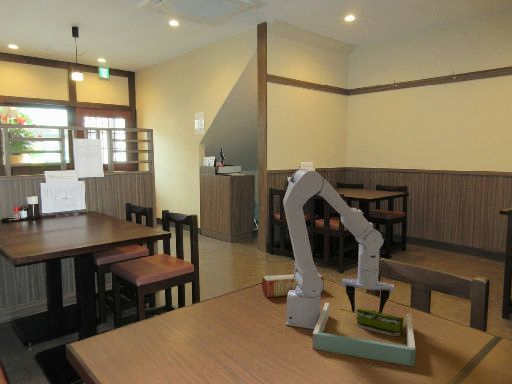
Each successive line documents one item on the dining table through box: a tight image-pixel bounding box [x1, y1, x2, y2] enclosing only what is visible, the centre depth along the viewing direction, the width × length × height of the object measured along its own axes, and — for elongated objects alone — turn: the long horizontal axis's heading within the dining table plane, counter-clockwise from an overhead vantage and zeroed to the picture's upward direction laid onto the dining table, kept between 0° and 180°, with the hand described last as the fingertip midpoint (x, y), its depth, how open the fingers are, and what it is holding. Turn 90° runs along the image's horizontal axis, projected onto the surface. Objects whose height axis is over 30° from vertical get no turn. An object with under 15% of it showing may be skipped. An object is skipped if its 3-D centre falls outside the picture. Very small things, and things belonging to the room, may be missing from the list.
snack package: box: [261, 272, 325, 298], centre depth 130 cm, size 21×7×7 cm, turn 104°
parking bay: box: [311, 302, 416, 367], centre depth 99 cm, size 24×20×4 cm
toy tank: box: [339, 308, 404, 337], centre depth 106 cm, size 7×19×10 cm
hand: (366, 312), depth 111 cm, fingers open, 7 cm apart
